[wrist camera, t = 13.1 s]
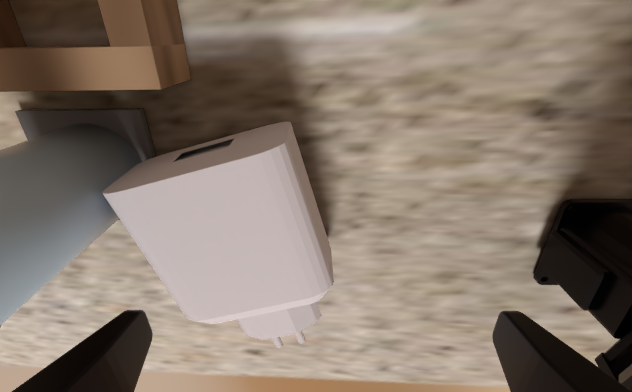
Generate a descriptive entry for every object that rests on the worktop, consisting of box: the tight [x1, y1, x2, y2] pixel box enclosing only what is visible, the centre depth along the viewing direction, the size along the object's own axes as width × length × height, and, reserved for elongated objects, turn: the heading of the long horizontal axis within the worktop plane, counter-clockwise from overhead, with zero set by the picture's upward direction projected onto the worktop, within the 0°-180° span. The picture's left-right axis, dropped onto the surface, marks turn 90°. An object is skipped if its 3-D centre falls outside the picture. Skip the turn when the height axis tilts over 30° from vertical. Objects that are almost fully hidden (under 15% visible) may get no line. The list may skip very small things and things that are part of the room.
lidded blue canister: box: [0, 124, 142, 325], centre depth 14 cm, size 6×6×12 cm
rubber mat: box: [15, 108, 156, 220], centre depth 19 cm, size 7×7×1 cm
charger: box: [102, 122, 334, 348], centre depth 19 cm, size 5×9×15 cm
